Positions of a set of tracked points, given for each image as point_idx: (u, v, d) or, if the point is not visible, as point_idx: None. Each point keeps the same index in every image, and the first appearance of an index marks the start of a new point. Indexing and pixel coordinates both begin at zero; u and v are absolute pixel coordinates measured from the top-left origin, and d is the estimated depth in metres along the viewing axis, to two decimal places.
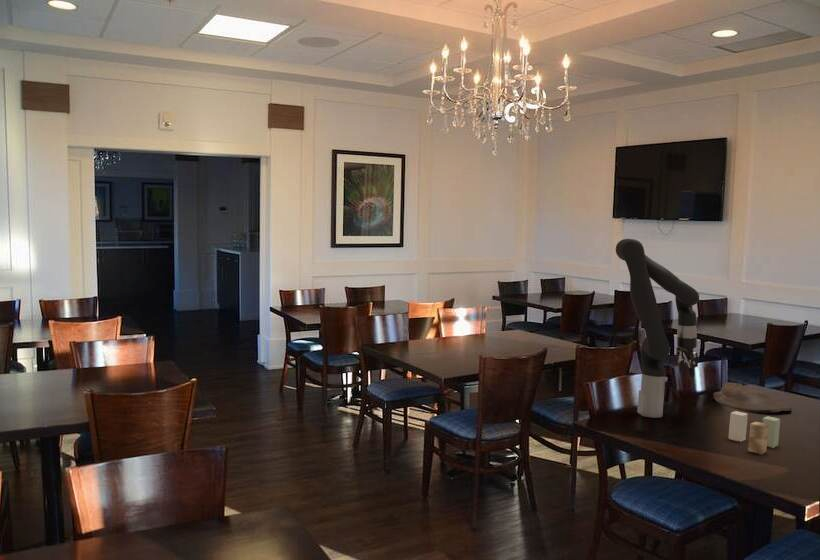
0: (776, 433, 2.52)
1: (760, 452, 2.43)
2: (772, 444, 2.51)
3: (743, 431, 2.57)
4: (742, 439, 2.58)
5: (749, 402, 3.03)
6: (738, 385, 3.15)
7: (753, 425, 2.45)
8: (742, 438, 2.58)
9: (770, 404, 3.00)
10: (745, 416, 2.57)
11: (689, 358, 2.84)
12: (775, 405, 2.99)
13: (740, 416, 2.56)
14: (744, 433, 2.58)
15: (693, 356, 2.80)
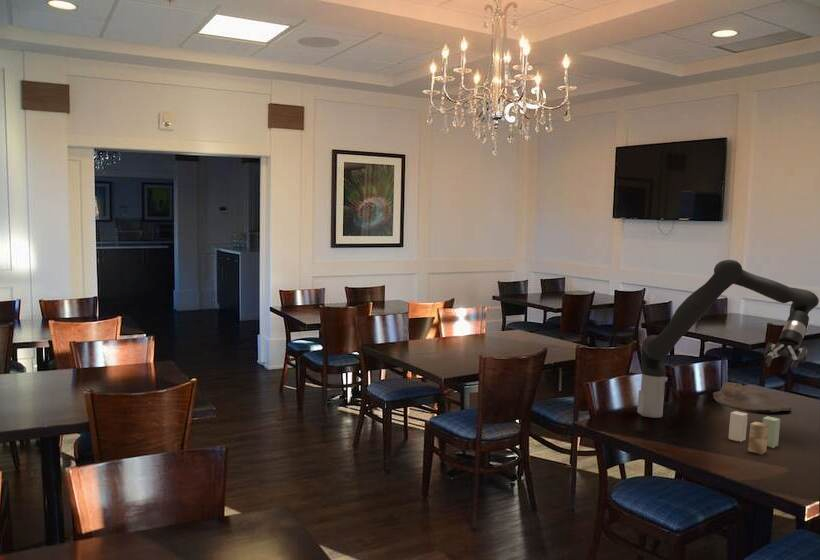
0: (776, 433, 2.52)
1: (760, 452, 2.43)
2: (772, 444, 2.51)
3: (742, 431, 2.57)
4: (742, 439, 2.58)
5: (749, 402, 3.03)
6: (738, 385, 3.16)
7: (753, 425, 2.45)
8: (742, 438, 2.58)
9: (770, 404, 3.00)
10: (745, 416, 2.57)
11: None
12: (775, 405, 3.00)
13: (740, 416, 2.56)
14: (744, 433, 2.58)
15: (806, 351, 2.60)
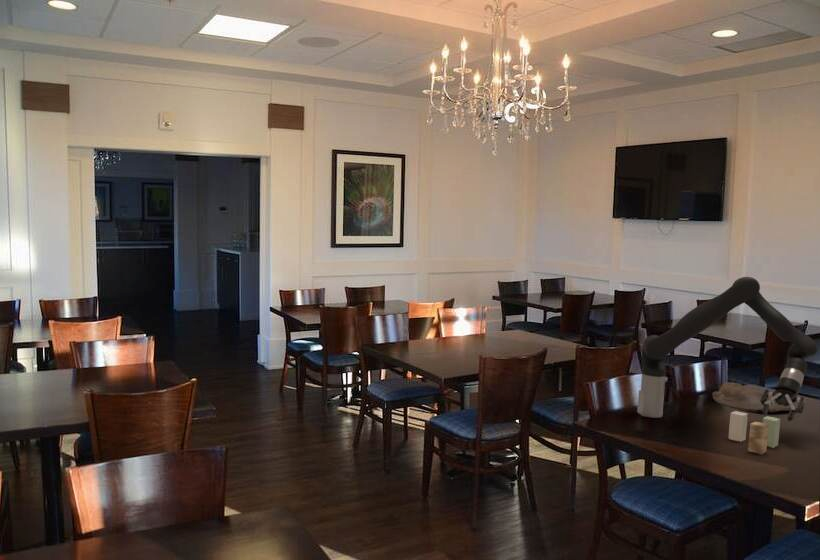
0: (776, 433, 2.52)
1: (760, 452, 2.43)
2: (772, 444, 2.51)
3: (742, 431, 2.57)
4: (742, 439, 2.58)
5: (748, 402, 3.04)
6: (737, 385, 3.16)
7: (753, 425, 2.45)
8: (742, 438, 2.58)
9: None
10: (745, 416, 2.57)
11: None
12: (774, 405, 3.00)
13: (740, 416, 2.56)
14: (744, 433, 2.58)
15: (803, 401, 2.55)
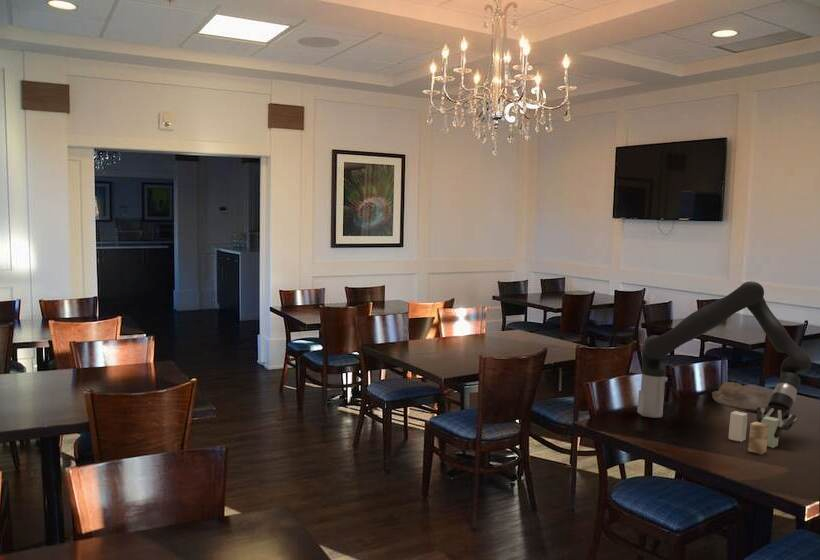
0: None
1: (760, 452, 2.43)
2: (772, 444, 2.51)
3: (742, 431, 2.57)
4: (742, 439, 2.58)
5: (747, 401, 3.04)
6: (736, 384, 3.16)
7: (753, 425, 2.45)
8: (742, 438, 2.58)
9: (768, 403, 3.01)
10: (745, 416, 2.57)
11: None
12: None
13: (740, 416, 2.56)
14: (744, 433, 2.58)
15: (794, 419, 2.51)
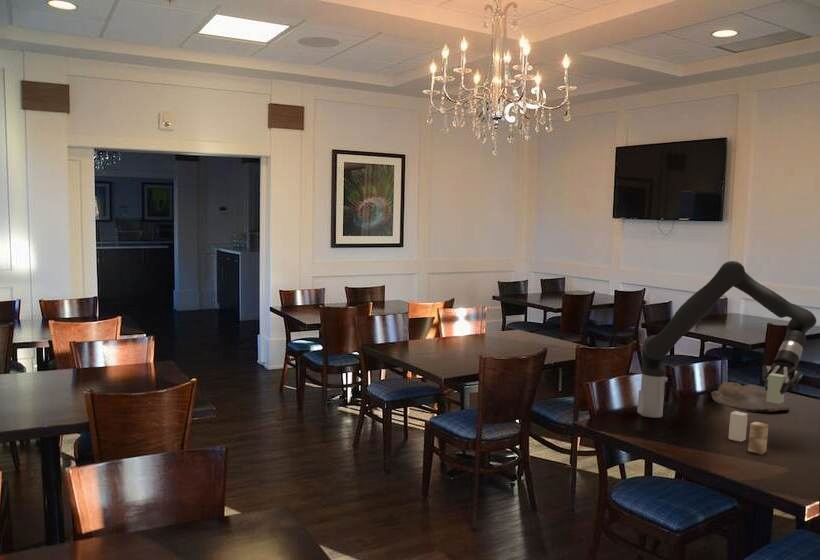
0: None
1: (760, 452, 2.43)
2: (778, 400, 2.52)
3: (742, 431, 2.57)
4: (742, 439, 2.58)
5: (747, 401, 3.04)
6: (736, 384, 3.16)
7: (753, 425, 2.45)
8: (742, 438, 2.58)
9: (768, 403, 3.01)
10: (745, 416, 2.57)
11: None
12: (773, 404, 3.00)
13: (740, 416, 2.56)
14: (744, 433, 2.58)
15: (800, 375, 2.52)
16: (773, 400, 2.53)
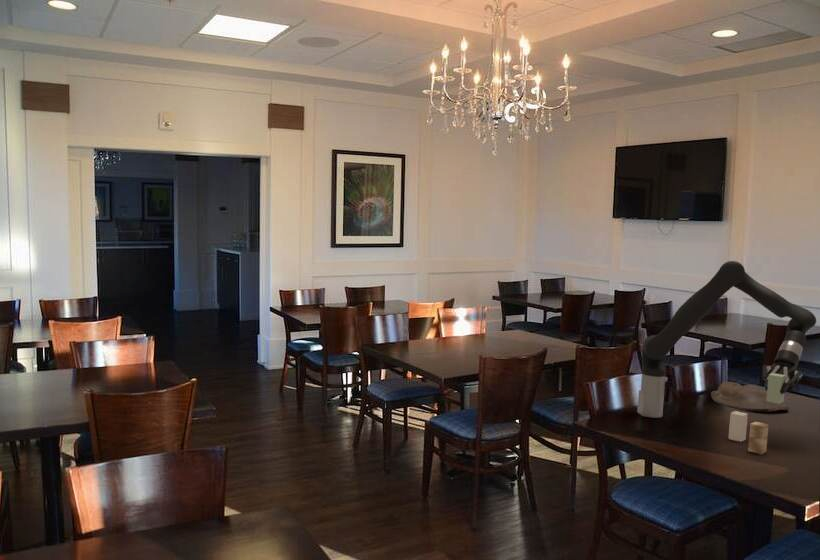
0: None
1: (760, 452, 2.43)
2: (778, 399, 2.52)
3: (742, 431, 2.57)
4: (742, 439, 2.58)
5: (746, 401, 3.04)
6: (735, 384, 3.17)
7: (753, 425, 2.45)
8: (742, 438, 2.58)
9: (767, 403, 3.01)
10: (745, 416, 2.57)
11: None
12: (772, 404, 3.01)
13: (740, 416, 2.56)
14: (744, 433, 2.58)
15: (800, 375, 2.52)
16: (773, 400, 2.53)
